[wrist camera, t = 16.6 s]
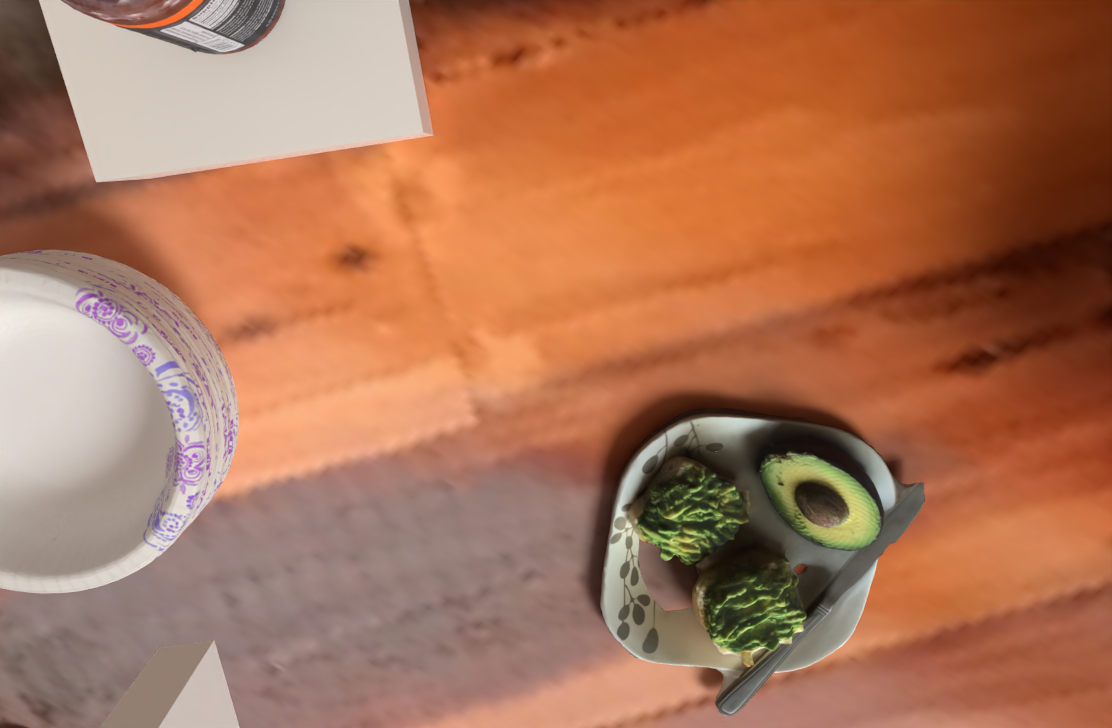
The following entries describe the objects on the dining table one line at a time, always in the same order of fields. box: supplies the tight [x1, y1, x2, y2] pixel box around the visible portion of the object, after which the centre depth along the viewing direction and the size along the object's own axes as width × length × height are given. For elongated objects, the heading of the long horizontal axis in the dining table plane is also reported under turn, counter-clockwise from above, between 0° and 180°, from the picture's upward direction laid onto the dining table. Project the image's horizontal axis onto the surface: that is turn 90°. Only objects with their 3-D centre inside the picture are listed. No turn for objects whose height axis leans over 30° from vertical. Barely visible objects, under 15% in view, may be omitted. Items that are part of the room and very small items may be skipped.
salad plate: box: [600, 409, 925, 716], centre depth 42 cm, size 19×18×5 cm
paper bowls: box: [0, 249, 239, 593], centre depth 35 cm, size 15×15×8 cm
